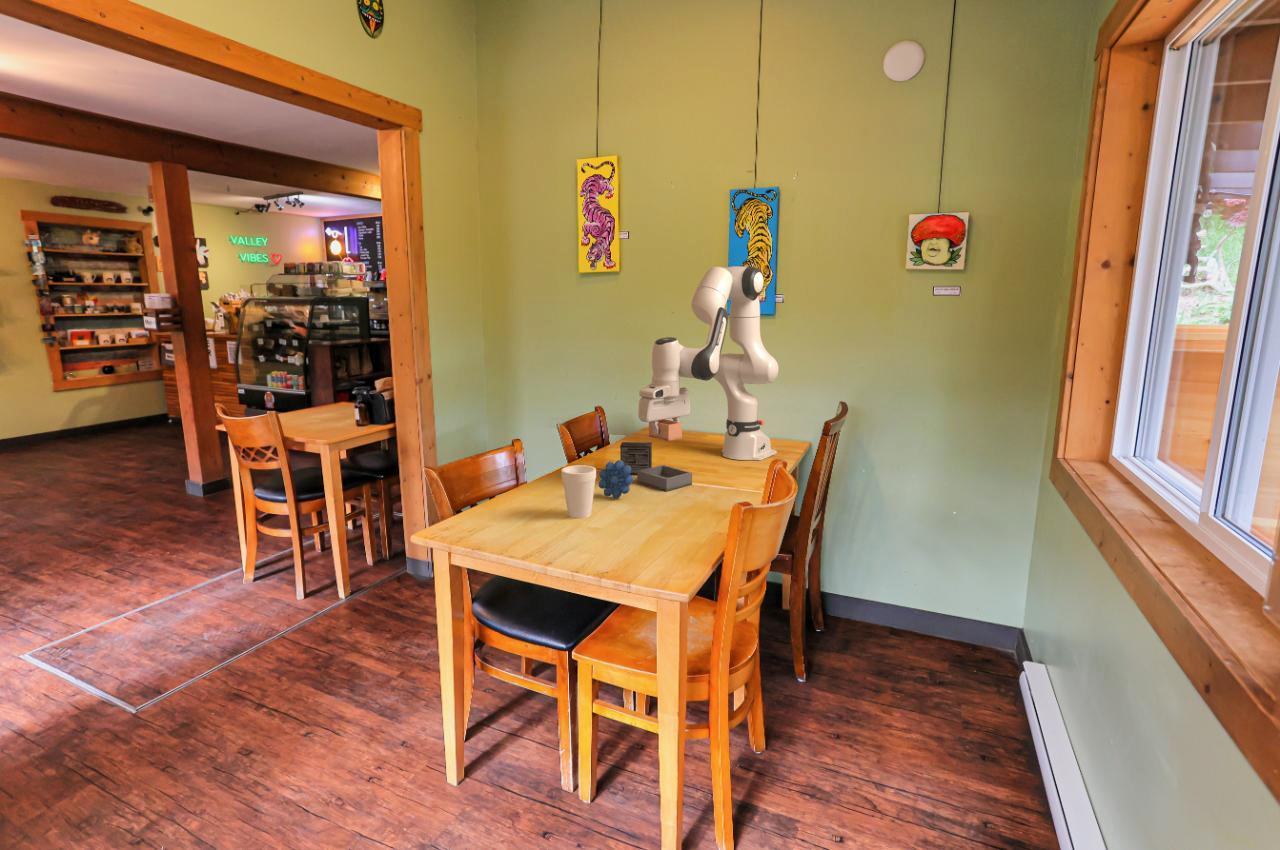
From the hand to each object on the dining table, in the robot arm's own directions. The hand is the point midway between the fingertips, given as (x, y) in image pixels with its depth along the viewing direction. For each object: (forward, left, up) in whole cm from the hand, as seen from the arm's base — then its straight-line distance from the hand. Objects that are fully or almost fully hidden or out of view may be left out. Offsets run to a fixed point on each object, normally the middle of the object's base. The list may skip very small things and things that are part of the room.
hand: (665, 432), depth 205 cm
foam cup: (+39, +6, -17) cm, 43 cm away
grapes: (+21, +1, -17) cm, 27 cm away
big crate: (0, 0, -17) cm, 17 cm away
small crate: (0, 0, -2) cm, 2 cm away
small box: (-2, -16, -17) cm, 24 cm away
